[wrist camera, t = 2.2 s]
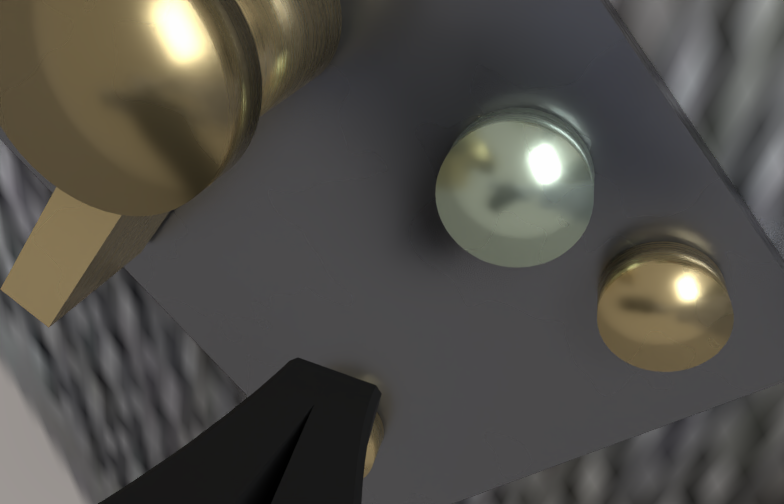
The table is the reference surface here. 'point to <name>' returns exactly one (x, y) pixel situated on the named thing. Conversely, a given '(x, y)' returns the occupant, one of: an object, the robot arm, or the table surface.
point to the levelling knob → (138, 117)
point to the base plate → (480, 245)
